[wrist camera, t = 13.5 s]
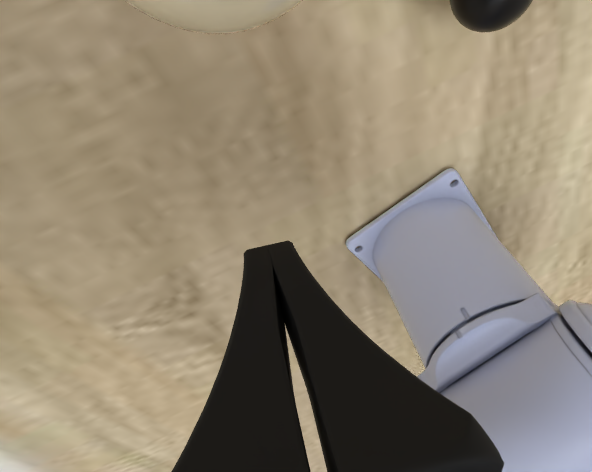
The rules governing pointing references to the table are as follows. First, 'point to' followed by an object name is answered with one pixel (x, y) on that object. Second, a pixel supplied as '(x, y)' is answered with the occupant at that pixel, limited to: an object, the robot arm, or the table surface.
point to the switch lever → (488, 13)
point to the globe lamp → (214, 13)
